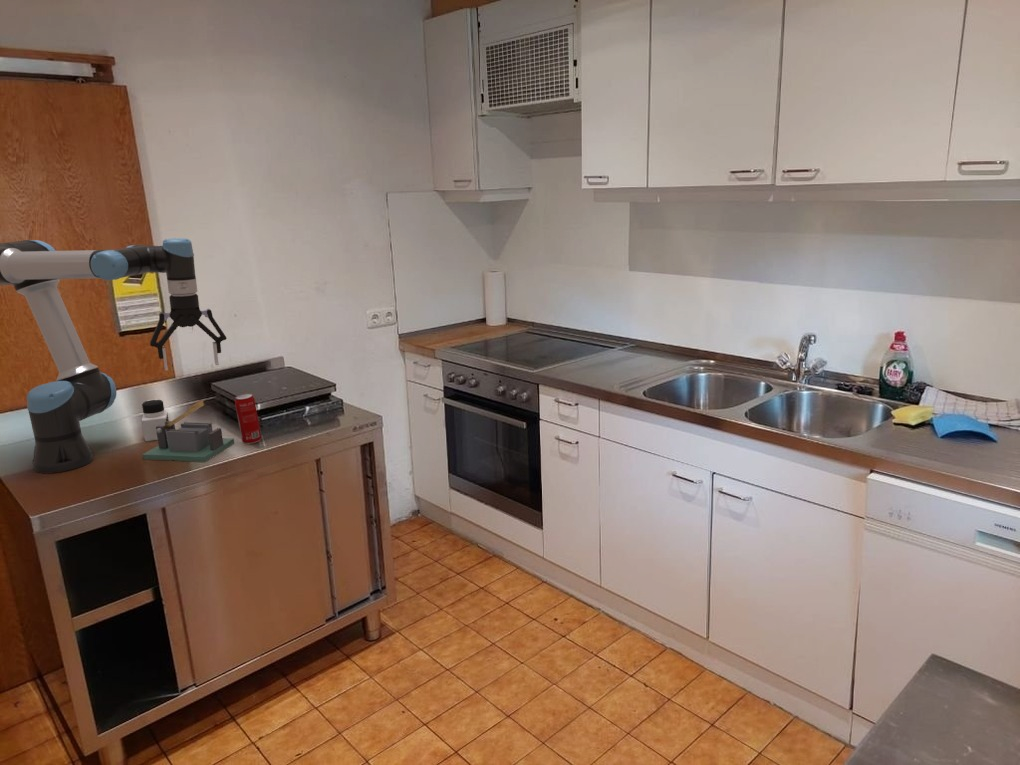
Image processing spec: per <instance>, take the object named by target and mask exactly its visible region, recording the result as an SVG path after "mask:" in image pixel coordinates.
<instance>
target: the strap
mask: <svg viewBox="0 0 1020 765" xmlns="http://www.w3.org/2000/svg"><path fill="white" fill-rule="evenodd" d="M204 402H205V401H204V399H201V400H199V401H197V402H196V403H194V404H192V405H190V406H189V407H188V410H187V411H185V412H183V413H182V414H180V415H179V416H177V417H176V418H175V419H172V420H171V422H169V423H168V424H166V425H165V429H167V428H169V427H170V426H172V425H173V424H174V425H175V424H176V423H178V422H180V421H182V420H183V419H184V418H186V417H188V416H189V415H191V414H192V413H194V412H196V411H197V410H198V409H201V408H202V407H203V406H205V404H204Z"/></svg>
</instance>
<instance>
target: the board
mask: <svg viewBox="0 0 1020 765" xmlns="http://www.w3.org/2000/svg"><path fill="white" fill-rule="evenodd" d="M171 421H172V420H171ZM171 421H170V420H169V421H166V422H165V425H166V424H168V423H169V422H171ZM212 425H213V424H212V422H195V421H194V422H193V421H184V422H183V423H180V427H179V428H178V429H176V425H175V424H173V425H172V426H170V427H169V428H167V429H165V426H156V432H157V438H158V440H157V444H158V445H157V446H155V447H153V448H151V449H150V450H147V452H144V453H142V459H143V460H152V461H154V460H155V461H170V462H171V461H172V460H175V461H174V462H193V461H198V462H199V463H206V462H207V461H209V460H210V459H212V458H213V456H214V457H216V454H217V455H218V454H220V453H221V452H223V451H224V450H226V449H227V448H229V447H231V446H232V445H234V444H235V438H227V437H226V438H225V437H223V433H222V432H223V431H222V427H221V428H220V427H219V428H218V427H217V428H215V429H213V426H212ZM166 432H167V435H166Z"/></svg>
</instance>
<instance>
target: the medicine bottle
mask: <svg viewBox="0 0 1020 765" xmlns="http://www.w3.org/2000/svg"><path fill="white" fill-rule="evenodd" d="M141 407H142V412H143V415H142V418H141V426H142V433H143V439H144V441H145V442H151V441H158V438H157V432H156V426H165V422H166V421H170V419H169V415H168V411H165V406H164V401H163V400H161V399H158V398H157V399H156V398H154V399H148V400H146V401H144V402H143V403H142V404H141ZM166 435H167V432H166Z"/></svg>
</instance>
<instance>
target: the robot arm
mask: <svg viewBox="0 0 1020 765" xmlns="http://www.w3.org/2000/svg"><path fill="white" fill-rule="evenodd" d="M195 269H196V268H195V254H194V249H193V243H192V241H191V240H190V239H189V238H182V237H181V238H176V237H175V238H174V237H173V238H166V239H165V238H164V239H163V240H162V245H144V244H133V245H128V246H126V247H125V248H116V249H96V250H95V249H91V250H86V249H85V250H56V249H55V248H54V247H53V246H52V245H50V244H49V243H46V242H45V241H42V240H36V239H32V240H31V239H24V240H18V241H9V242H1V243H0V286H11V285H13V287H14V290H15V292H16V293H18V294H19V295H22V296H24V297H25V300H26V301H27V302H26V303H27V304H28V307H29V308H30V311H31V313H32V315H33V317H34V319H35V321H36V324H37V326H38V328H39V330H40V333H41V335H42V337H43V340H44V342H45V344H46V346H47V348H48V351H49V353H50V355H51V358H52V359H53V362H54V364H55V366H56V368H57V370H58V375H57V377H56V380H55V381H50V382H49V381H48V383H43V384H40V385H37V386H35V387H33V388H32V389H30V390H29V391H28V392H27V394H26V401H27V402H26V407H27V408H26V409H27V411H28V414H29V419H30V424H31V427H32V428H31V429H32V433H33V436H34V442H35V444H34V449H33V458H32V462H31V463H32V464H31V465H32V468H33V471H34V472H36V473H42V474H52V473H60V472H61V473H62V472H66V471H67V472H68V471H71V470H74V469H78V468H81V467H83V466H86V465H88V464H89V463H91V462H92V461H93V460H94V455H93V450H92V449H91V448H90V447H89V445H88V443H87V441H86V439H85V438H84V436H83V433H82V429H81V424H80V422H81V421H83V420H85V419H88V418H90V417H92V416H94V415H96V414H97V415H98V414H101V413H103V412H104V411H106V410H108V409H109V408H111V407H112V406H113V404H114V403H115V400H116V397H117V386H116V383H115V381H114V380H113V378H112V377H110V376H109V375H108V374H106V373H104V372H101V370H100V368H99V366H98V365H96V364H94V363H91V362H90V360H89V358H88V354H87V352H86V350H85V348H84V346H83V343H82V342H81V341H82V340H81V339H80V336H79V335H78V332H77V329H76V328H75V325H74V323H73V321H72V318H71V316H70V314H69V311H68V309H67V307H66V305H65V302H64V300H63V299H62V296H61V293H60V291H59V288H58V285H59V284H60V281H61V280H74V279H75V280H77V279H78V280H79V279H82V280H83V279H84V280H85V279H101V280H103V281H115V280H116V281H117V280H120V279H122V278H127V277H134V276H138V275H142V274H143V275H144V274H150V273H151V274H152V273H153V274H154V273H159V274H160V273H161V274H164V273H165V274H166V282H167V290H168V293H169V296H168V298H169V305H170V307H169V308H170V312H166V313H165V312H163V311H160V312H159V313H158V314H159V315H158V316H159V317H158V322H157V324H156V327H155V329H154V332H153V333H152V336H151V339H150V342H149V344H150V345H149V346H150V347H152V348H153V347H154V348H157V354H158V358H159V359H160V360H163V366H164V367H163V368H164V372H165V371H166V372H167V371H169V368H168V360H167V353H166V347H165V346H164V345H165V344H166V343H167V341H168V340H169V338H170V337H171V336H172V335H173V334H174V332H175V331H176V330H177V328H178V327H179V328H186V327H194V326H198V327H199V328H200V329H201V331H203V332H205V333H206V334H207V335H208V336H209V337H210V338H211V339H212V340H213V341H212V349H213V358H214V364H215V366H219V363H220V362H219V357H218V355H219V354H221V353H222V345H221V342H223V341H226V340H227V336H226V335H225V333H224V332H223V330H222V328H221V327H220V326H219V324H218V322H217V321H216V320H215V318H214V317H213V312H212V310H211V309H210V308H206V309H203V310H201V309H200V300H199V295H198V294H197V292H198V283H197V277H196V270H195ZM202 316H204V317H205V318H208V320H209V321H210V323H211V324H212V326H213V327H214V329H215V330H216V332H217V333H218V335H219V336H217V335H216V334H215V332H213V331H212V330H211V329H210V328H208V327H207V326H206V325H205V324H204V323H203V322H202V321H200V319H201V317H202ZM169 318H170V319H171V320H172V321H173V322H172V323H171V325H170V326H169V328H168V329H167V330H166V331H165V333H164V334H163V335H162V337H161V338H160V339H159V336H160V333H161V331H162V329H163V327H164V325H165V324H164V323H165V321H167V320H168V319H169ZM158 339H159V341H157V340H158Z"/></svg>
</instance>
